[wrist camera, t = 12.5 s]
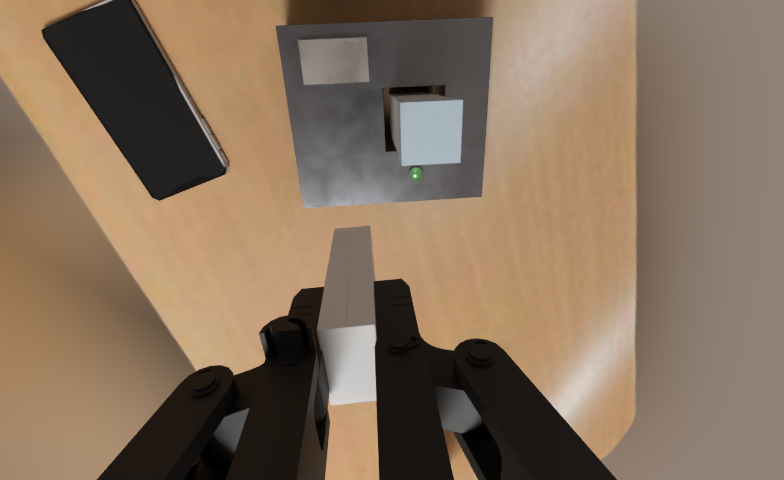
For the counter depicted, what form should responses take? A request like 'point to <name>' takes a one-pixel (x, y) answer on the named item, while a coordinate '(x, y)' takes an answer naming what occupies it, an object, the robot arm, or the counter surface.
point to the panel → (381, 105)
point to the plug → (426, 128)
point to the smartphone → (137, 96)
